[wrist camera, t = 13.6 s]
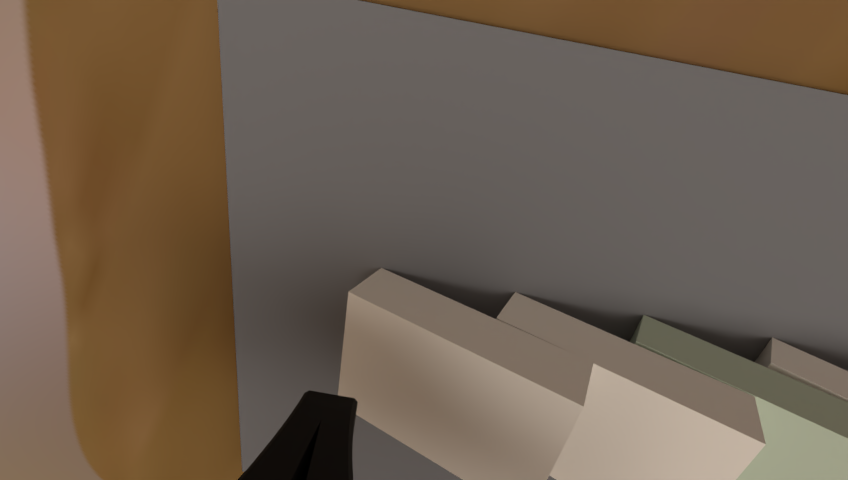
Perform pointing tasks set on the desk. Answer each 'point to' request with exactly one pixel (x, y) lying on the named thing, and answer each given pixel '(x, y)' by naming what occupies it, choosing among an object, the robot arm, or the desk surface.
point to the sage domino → (766, 407)
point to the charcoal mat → (511, 193)
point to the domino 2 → (643, 409)
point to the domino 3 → (805, 368)
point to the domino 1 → (458, 381)
